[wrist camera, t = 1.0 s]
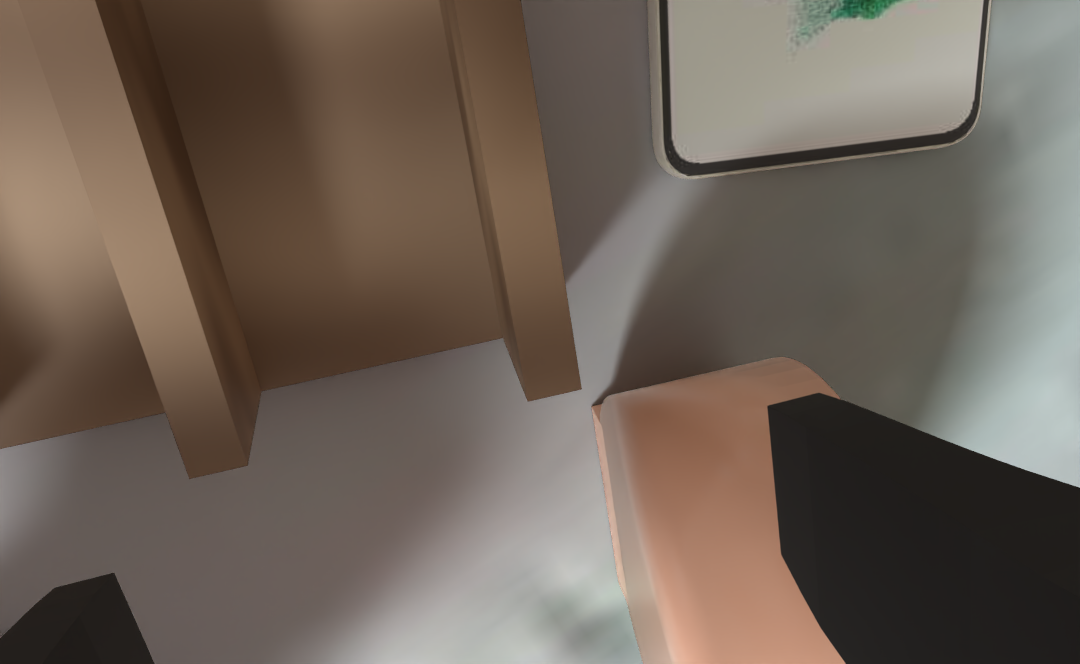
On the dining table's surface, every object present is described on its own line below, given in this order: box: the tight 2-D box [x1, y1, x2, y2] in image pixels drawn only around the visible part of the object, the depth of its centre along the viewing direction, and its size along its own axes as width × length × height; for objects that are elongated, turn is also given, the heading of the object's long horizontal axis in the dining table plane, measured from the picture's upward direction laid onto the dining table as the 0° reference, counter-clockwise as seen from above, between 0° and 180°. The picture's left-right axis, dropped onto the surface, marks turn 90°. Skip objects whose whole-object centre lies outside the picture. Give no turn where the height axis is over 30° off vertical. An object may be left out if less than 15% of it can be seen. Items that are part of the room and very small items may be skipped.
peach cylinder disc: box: [591, 357, 846, 664], centre depth 19 cm, size 9×4×9 cm, turn 9°
